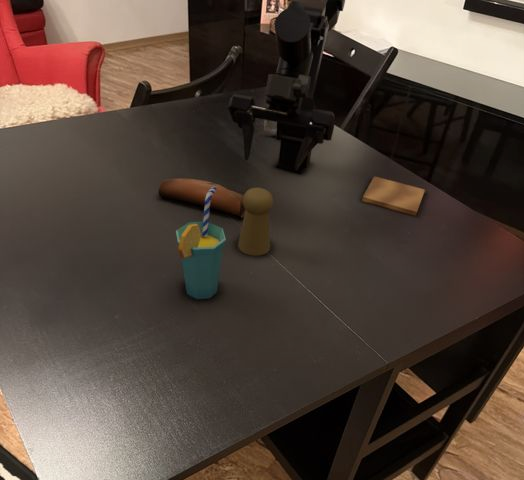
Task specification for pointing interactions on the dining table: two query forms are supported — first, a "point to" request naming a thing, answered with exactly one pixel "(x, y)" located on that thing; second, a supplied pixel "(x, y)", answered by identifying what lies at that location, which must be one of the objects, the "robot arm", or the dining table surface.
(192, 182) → the sunglasses case
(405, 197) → the cork mat
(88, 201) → the dining table surface
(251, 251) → the pepper shaker
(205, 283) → the cup
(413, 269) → the dining table surface
